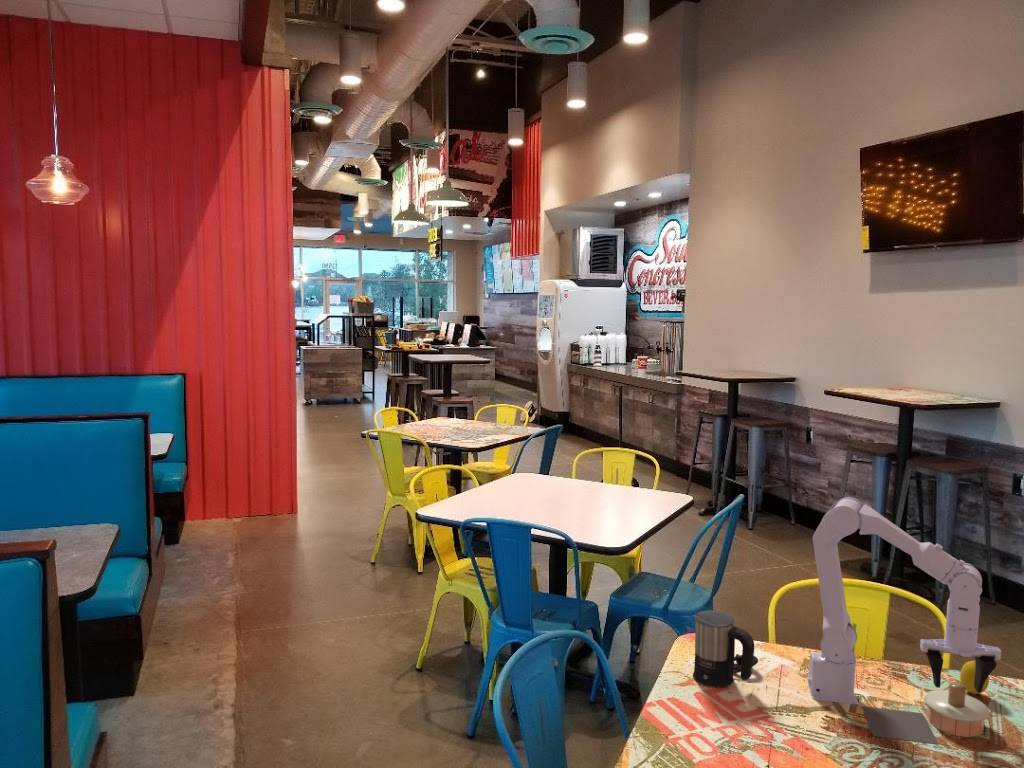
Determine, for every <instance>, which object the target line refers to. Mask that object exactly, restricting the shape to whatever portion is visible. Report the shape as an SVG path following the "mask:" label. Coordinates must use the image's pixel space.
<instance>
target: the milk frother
mask: <svg viewBox="0 0 1024 768" xmlns="http://www.w3.org/2000/svg"><path fill="white" fill-rule="evenodd" d="M693 617H694V620H695V631H694V634H695V637H694V639H695V640H694V666H693V667H694V669H693V674H692V677H693V679H694V680H695V682H697V684H698V683H699V684H700V685H702V686H706V687H709V688H716V689H717V688H720V689H721V688H726V687H729V686H731V685H732V684H733V683H734V680H735V678H734V675H735V674H739V673H740V679H741V680H743V681H748V680H749V679H750V678H751V676H752V674H753V667H755V666H756V665H758V663H759V659H758V657H757V656H756V655H755V641H754V638H753V637H752V635H751V634H750V633H749V632H748V631H747V630H745V629H743V628H740V627H737V626H735V623H736V618H735V617H734V616H733V615H732V614H730V613H728V612H725V611H719V610H714V609H713V610H710V609H709V610H701V611H698V612H696V613H694V615H693ZM736 640H737V641H739V642H740V644H741V647H742V652H741V654H738V653H736V655H735V650H736V649H735V647H736V642H735V641H736ZM735 662H736V665H735Z"/></svg>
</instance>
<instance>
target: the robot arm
mask: <svg viewBox="0 0 1024 768" xmlns="http://www.w3.org/2000/svg"><path fill="white" fill-rule="evenodd" d="M857 530H859V535H876V536H878V537H879V538H882V539H883V540H885V541H887V542H888V543H889V544H891V545H893V546H895V547H896V548H898V549H900V550H901V551H902V552H904V553H906V554H908V555H910V556H911V559H912V563H913V566H916V567H917V568H918V569H920V570H922V571H923V572H924V573H926V574H928V575H929V576H931V577H932V578H934V580H935V579H936V580H937V581H938V582H940V583H941V584H944V585H945V586H947V587H948V590H949V598H948V600H947V603H946V617H945V618H946V619H945V620H946V621H945V632H944V638H938V639H936V638H935V639H923V638H921V639H920V640H919V641H920V642H919V649H920V651H921V652H923V653H925V654H926V658H927V660H928V663H929V665H930V668H931V673H932V679H933V681H932V682H933V684H934V686H935V688H939V689H940V688H941V681H942V680H941V679H942V678H941V677H942V668H943V666H944V665H943V664H944V659H943V658H942V653H944V654H951V655H960V656H961V657H965V658H966V657H967V658H971V657H974V660H975V679H974V688H975V689H976V691H977V692H980V693H979V694H982V693H981V691H982V688H983V685H984V683H985V681H986V679H987V678H988V676H989V677H990V674H991V673H993V671H994V670H995V669H996V667H997V662H996V661H1001V659H1002V650H1001V649H1000V648H999V647H998V646H991V645H986V644H982V643H978V636H979V635H978V631H979V621H980V611H981V610H980V609H981V607H980V601H981V597H980V596H981V594H982V592H983V587H982V585H983V578H982V574H981V573H980V571H979V570H978V569H977V568H976V567H975V566H974V565H973V564H971V563H967V562H965V561H964V560H962V559H959V560H958V559H957V558H955V557H953V555H951V554H949V553H948V552H946V551H945V550H943V548H944V547H943V546H942V545H941V544H939V543H936V544H934V543H932V542H930V541H927V542H920V541H918V539H915V538H914V537H913V536H912V535H910V534H908V533H907V532H906V531H904V530H903V529H902V528H900V527H899V526H897V525H896V524H895V523H893V522H892V521H890V520H889V519H887V518H886V517H884V516H883V515H882V514H880V512H877V511H876V509H874V508H872V507H871V506H870V505H867V504H865V503H864V504H863V503H862V502H861V501H860V500H859V499H857V498H855V497H852V496H851V497H850V496H848V497H847V496H846V497H843V498H841V499H839V500H837V502H835V503H834V504H833V505H832V506H831V507H830V508H829V509H828V511H827V512H826V513H825V514H824V515H823V517H822V519H821V521H820V523H819V525H818V526H817V528H816V530H815V532H814V533H813V535H812V542H813V543H812V544H813V549H814V550H813V552H814V558H815V564H816V572H817V578H818V585H819V593H820V599H821V600H820V601H821V606H822V614H823V622H822V634H823V635H822V639H821V641H820V646H819V647H820V652H812V653H810V655H809V661H808V662H809V663H808V677H807V678H808V679H807V684H808V688H809V693H810V696H811V699H812V700H817V701H823V702H824V701H826V702H832V703H840V704H841V703H842V704H850V705H856V706H857V705H859V701H858V698H857V695H856V693H855V680H856V679H855V677H856V665H857V664H856V661H857V656H856V654H855V652H854V650H853V649H854V647H855V646H854V645H856V643H857V641H858V633H857V630H856V629H855V628H854V625H853V624H852V622H851V616H850V613H849V612H848V610H847V601H846V596H845V590H844V582H843V574H842V568H841V562H840V554H839V548H838V547H839V546H838V544H839V542H840V541H841V540H842V539H843V538H845V537H847V536H850V535H852V534H854V533H856V532H857ZM995 660H996V661H995Z"/></svg>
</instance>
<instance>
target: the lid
mask: <svg viewBox="0 0 1024 768" xmlns="http://www.w3.org/2000/svg"><path fill="white" fill-rule="evenodd" d="M966 691H967V690H966V686H965V685H963V684H962V683H960V682H957V681H956V682H955V681H951V682H949V684H948V690H945V689H936V690H930V691H928V692H926V693H925V695H924V700H923V701H924V703H925V704H926V707H927V706H928V707H929V708H930V709H932V710H933V711H935V712H937V713H939V714H941V715H943V716H946V717H949V718H952V719H955V720H960V721H967V722H978V721H983V720H984V721H985V720H987V719H988V718H989V717H990V716H989V715H990V710H989V708H988V706H987V705H986V704H985V703H983V702H982V701H981V700H979V699H977V698H975V697H974V696H973V697H972V696H970V695H969V694H966Z"/></svg>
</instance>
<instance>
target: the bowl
mask: <svg viewBox="0 0 1024 768" xmlns="http://www.w3.org/2000/svg"><path fill="white" fill-rule="evenodd" d="M926 720H928V722H929V725H932V726H933V727H934V728H937V729H938V730H939V731H942V732H945V733H947V734H949V735H950V734H951V735H953V736H957V737H966V738H972V737H979V736H981V735H982V733H983V731H984V729H985V720H983V721H978V722H967V721H960V720H955V719H952V718H949V717H946V716H943V715H941V714H939V713H937V712H935V711H933V710H932V709H930V708H929V707H928V706H927V705H926Z"/></svg>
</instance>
